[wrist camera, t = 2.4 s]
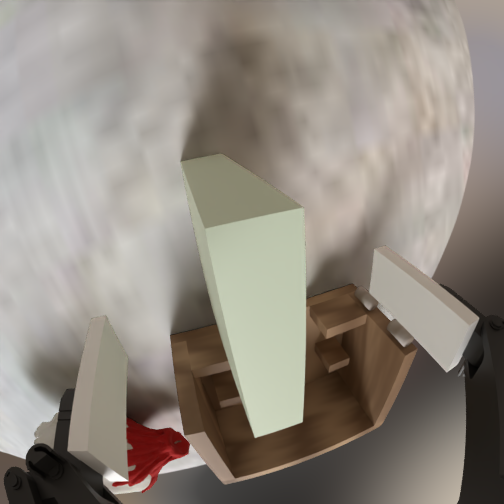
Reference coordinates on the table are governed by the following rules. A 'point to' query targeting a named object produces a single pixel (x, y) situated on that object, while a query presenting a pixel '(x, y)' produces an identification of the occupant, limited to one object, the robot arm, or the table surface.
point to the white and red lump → (134, 453)
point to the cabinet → (315, 390)
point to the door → (253, 284)
